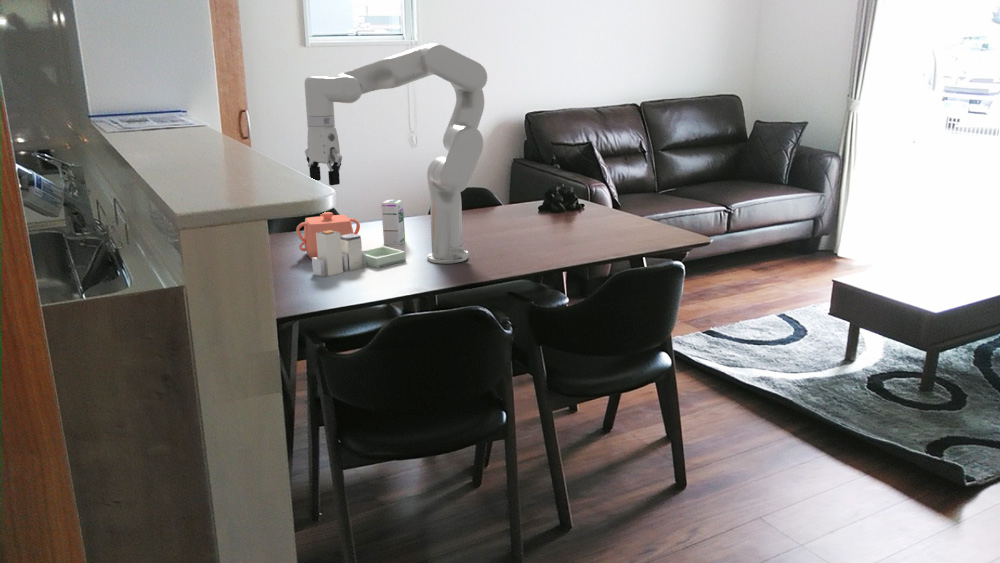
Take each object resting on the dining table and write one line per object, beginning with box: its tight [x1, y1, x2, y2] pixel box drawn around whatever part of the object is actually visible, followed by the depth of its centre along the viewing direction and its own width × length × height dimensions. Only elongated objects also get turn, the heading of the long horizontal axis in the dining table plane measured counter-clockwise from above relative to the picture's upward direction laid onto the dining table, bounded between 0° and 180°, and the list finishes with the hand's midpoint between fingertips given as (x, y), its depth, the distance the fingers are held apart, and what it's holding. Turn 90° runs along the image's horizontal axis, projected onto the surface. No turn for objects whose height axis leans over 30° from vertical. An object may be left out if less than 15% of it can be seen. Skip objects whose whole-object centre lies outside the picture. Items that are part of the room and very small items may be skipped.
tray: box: [364, 245, 407, 269], centre depth 245 cm, size 11×11×3 cm
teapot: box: [295, 211, 361, 260], centre depth 255 cm, size 20×19×14 cm
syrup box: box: [380, 199, 406, 246], centre depth 265 cm, size 6×6×14 cm
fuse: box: [316, 230, 344, 277], centre depth 233 cm, size 5×5×12 cm
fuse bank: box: [311, 232, 367, 278], centre depth 235 cm, size 5×16×10 cm, turn 135°
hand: (324, 182), depth 227 cm, fingers open, 9 cm apart
